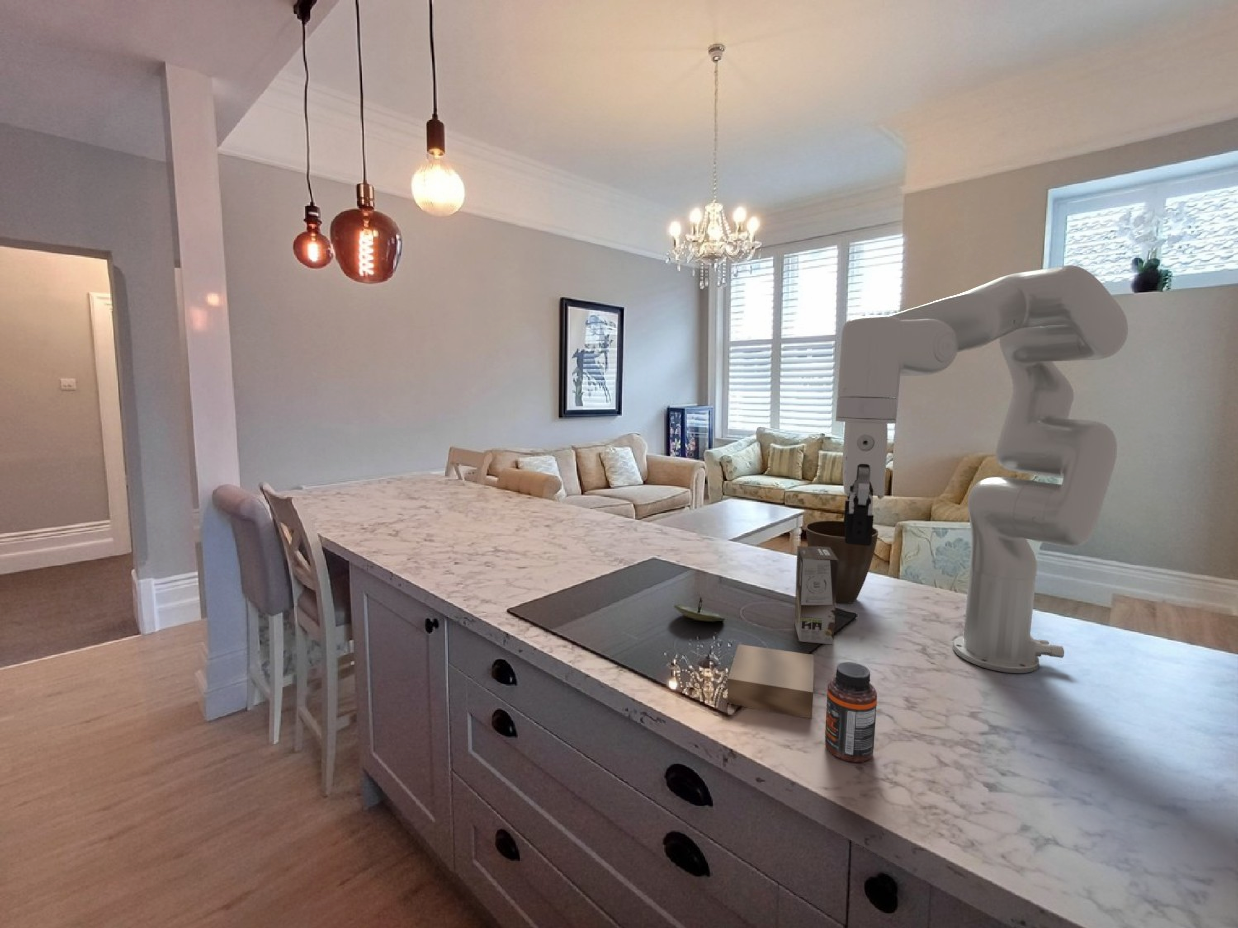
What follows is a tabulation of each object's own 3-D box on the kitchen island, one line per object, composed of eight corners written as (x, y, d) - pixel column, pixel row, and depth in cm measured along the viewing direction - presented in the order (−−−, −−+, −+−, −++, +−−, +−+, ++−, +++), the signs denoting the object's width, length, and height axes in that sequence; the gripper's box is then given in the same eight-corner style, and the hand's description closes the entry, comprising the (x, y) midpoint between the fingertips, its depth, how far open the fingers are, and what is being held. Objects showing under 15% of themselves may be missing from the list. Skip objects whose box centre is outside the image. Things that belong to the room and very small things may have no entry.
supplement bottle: (816, 737, 77) (820, 658, 76) (859, 734, 78) (863, 656, 76) (837, 766, 71) (841, 681, 70) (882, 763, 72) (888, 679, 70)
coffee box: (835, 645, 105) (839, 559, 102) (798, 642, 106) (801, 557, 104) (827, 624, 113) (831, 546, 111) (793, 622, 115) (796, 544, 113)
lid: (663, 623, 115) (663, 599, 114) (690, 608, 122) (690, 585, 122) (709, 637, 108) (709, 612, 107) (734, 620, 116) (735, 597, 115)
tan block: (812, 678, 93) (813, 654, 92) (811, 718, 82) (812, 692, 81) (737, 666, 97) (738, 644, 96) (727, 703, 85) (727, 678, 85)
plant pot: (853, 616, 117) (857, 541, 115) (789, 597, 128) (792, 527, 126) (886, 599, 127) (890, 528, 125) (824, 582, 138) (827, 517, 136)
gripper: (904, 413, 67) (892, 555, 69) (891, 411, 83) (881, 526, 85) (836, 411, 70) (826, 547, 72) (836, 409, 86) (828, 521, 88)
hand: (856, 535), depth 79 cm, fingers open, 9 cm apart
